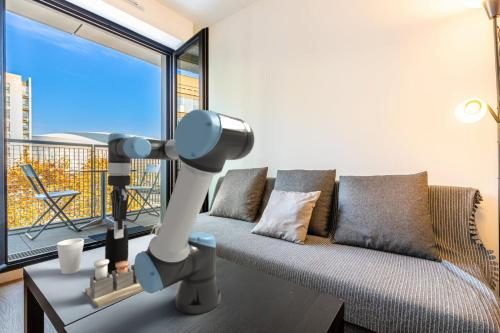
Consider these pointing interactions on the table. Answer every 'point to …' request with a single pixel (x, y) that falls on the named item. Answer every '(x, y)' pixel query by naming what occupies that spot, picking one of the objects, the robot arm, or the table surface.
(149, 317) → the table surface
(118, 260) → the portable speaker
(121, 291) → the board
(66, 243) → the foam cup
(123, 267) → the plunger terracotta
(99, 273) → the plunger cream
